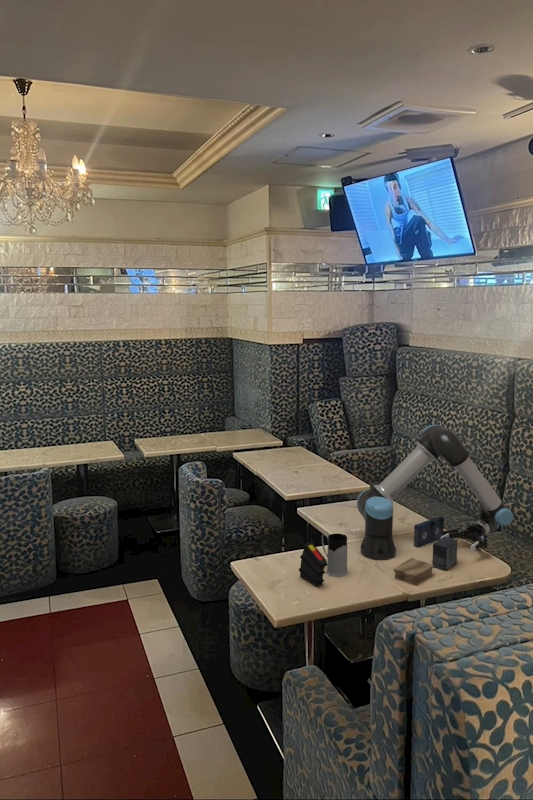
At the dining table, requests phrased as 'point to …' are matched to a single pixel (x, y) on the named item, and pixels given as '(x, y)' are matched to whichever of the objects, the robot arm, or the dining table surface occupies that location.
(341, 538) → the glass holder
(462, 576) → the dining table surface
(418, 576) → the walnut stand
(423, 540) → the vhs cassette tape
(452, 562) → the small box
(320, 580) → the magazine
